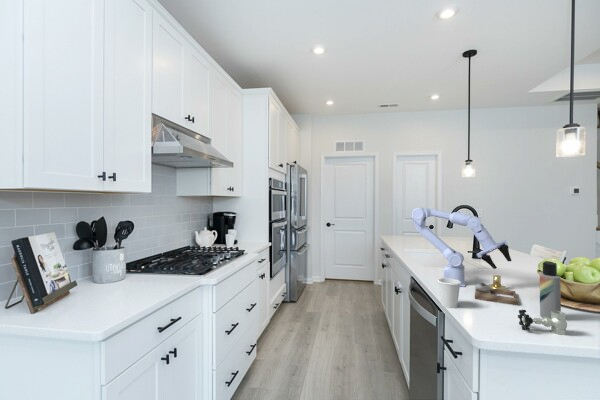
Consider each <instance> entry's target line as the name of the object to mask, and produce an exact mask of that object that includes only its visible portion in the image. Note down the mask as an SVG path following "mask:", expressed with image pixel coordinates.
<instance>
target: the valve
mask: <svg viewBox="0 0 600 400" xmlns="http://www.w3.org/2000/svg"><path fill="white" fill-rule="evenodd" d="M518 313H519V314H517V318H518V319H519V321H518V324H519V325H520V326H521V330H523V331H530V326H531V325H533V323H534V324H536V325H543V326H544V327H546V328H550V327H551V330H550V331H551V333H552V332H553V333H552V334H555V335H558V336H566V333H567V332H566V330H567V327H568V321H567V320H566V312H563V311H562V310H561V311H555V310H553V311H551V318H548V317H542V318H540V317H534V318H533V317H531V316H530V315H529V314H526V313H527V310H526V309H518Z"/></svg>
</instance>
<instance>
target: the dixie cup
mask: <svg viewBox="0 0 600 400" xmlns="http://www.w3.org/2000/svg"><path fill="white" fill-rule="evenodd" d="M437 282H438V283H437V284H438V289H439V296H440V304H441V306H442V307H444V308H448V309H457V308H458V304H459V303H458V302H459V297H460V288H461V286H460V284H461V282H460V281H458V280H455V279H449V278H438V279H437Z"/></svg>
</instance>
